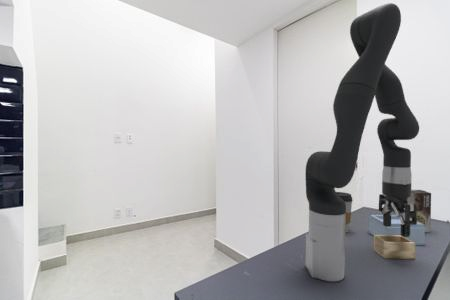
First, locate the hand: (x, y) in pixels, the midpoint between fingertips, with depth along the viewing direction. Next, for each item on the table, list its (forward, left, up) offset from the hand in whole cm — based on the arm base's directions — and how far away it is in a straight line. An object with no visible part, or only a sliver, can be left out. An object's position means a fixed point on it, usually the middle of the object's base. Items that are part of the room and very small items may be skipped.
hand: (395, 230), depth 75 cm
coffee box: (+23, +23, -8) cm, 33 cm away
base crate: (+9, +13, -8) cm, 17 cm away
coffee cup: (-8, +20, -8) cm, 23 cm away
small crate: (0, 0, -8) cm, 8 cm away
